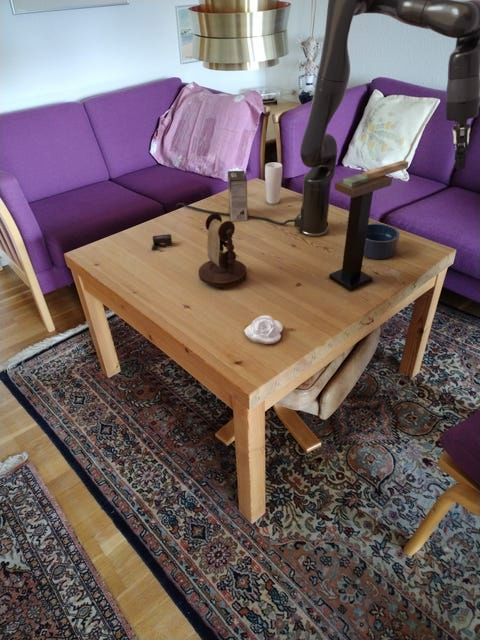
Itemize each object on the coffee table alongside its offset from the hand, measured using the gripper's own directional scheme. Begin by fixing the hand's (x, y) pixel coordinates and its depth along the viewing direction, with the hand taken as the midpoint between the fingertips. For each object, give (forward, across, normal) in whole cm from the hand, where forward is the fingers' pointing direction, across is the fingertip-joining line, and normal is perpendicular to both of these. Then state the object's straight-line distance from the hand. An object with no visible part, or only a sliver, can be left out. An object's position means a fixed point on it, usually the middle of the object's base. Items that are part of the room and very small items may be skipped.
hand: (459, 164), depth 124 cm
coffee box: (+18, -26, -76) cm, 82 cm away
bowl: (+29, -14, -24) cm, 40 cm away
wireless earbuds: (+17, +5, -93) cm, 95 cm away
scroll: (+24, +18, -66) cm, 72 cm away
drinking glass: (+19, -42, -67) cm, 81 cm away
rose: (+29, +40, -46) cm, 68 cm away
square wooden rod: (0, +6, -20) cm, 21 cm away
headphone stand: (+30, +7, -29) cm, 42 cm away
